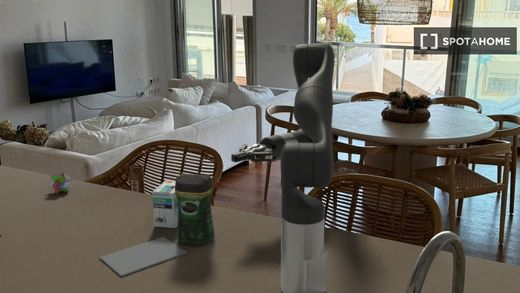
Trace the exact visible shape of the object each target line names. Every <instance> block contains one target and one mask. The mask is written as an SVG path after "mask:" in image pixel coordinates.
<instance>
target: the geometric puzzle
mask: <svg viewBox="0 0 520 293" xmlns="http://www.w3.org/2000/svg"><path fill="white" fill-rule="evenodd" d="M59 174H60V175H56V174H54V175H52V174H51V175H50V179H51V182H50V183H49V184H48V186H47V188H49V189H51V190H52V189H53V190H54V194H55V196H56V195H58V194H59V193H60V194H62V193H61V192H66V193H67V192H69V190H68V186H69V184H71V182H72V179H71V177H70V176H69V174H66V173H64V172H61V173H59ZM60 194H59V195H60Z"/></svg>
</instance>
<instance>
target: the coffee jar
mask: <svg viewBox="0 0 520 293" xmlns="http://www.w3.org/2000/svg"><path fill="white" fill-rule="evenodd" d="M175 181H176V182H175V194H176V196H177V200H178V226H177V233H176V234H177V236H176V237H177V242H179V244H182V245H188V246H198V247H199V246H206V245H208V244H210V243H211V242H213V240H214V239H215V227H214V221H213V214H212V205H211V196H212V193H213V182H212V178H211V175H209V174H194V173H183V172H182V173H180V174H179V175H178V176H177V177H176V178H175Z"/></svg>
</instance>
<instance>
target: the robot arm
mask: <svg viewBox="0 0 520 293" xmlns="http://www.w3.org/2000/svg"><path fill="white" fill-rule="evenodd" d="M335 60H336V59H335V51H334V48H333V46H332V45H331V44H329V43H325V42H319V43H315V42H314V43H302V44H297V45H296V46H295V47H294V49H293V54H292V67H293V72H294V76H295V80H296V81H295V82H296V85H297V88H298V90H296V93H295V96H294V104H293V110H292V111H293V113H292V114H293V117H294V120H295V123H297V125H298V127H299V129H298V130H295V131H291V132H287V133H285V132H284V133H277V134H274V135H269V136H265V137H263V138H262V139H261V141H260V142H259V143H255V144H252V145H250V146H249V145H248V144H247V143H243V144H242V145H241V146H240V147H239V148H238V152H234V153H231V155H230V157H231V158H230V160H231V162H233V163H239V162H243V161H247V162H249V161H250V162H251V163H252V162H253V163H255V162H256V163H257V162H259V163H260V162H261V163H263V162H267V163H274V162H277V161H279V162H280V167H279V168H280V179H281V180H280V183H281V213H280V214H281V215H280V216H281V225H280V226H281V227H280V228H281V229H280V231H281V232H280V290H281V292H282V293H325V292H327V267H328V266H327V265H328V264H327V263H328V252H327V251H325V250H324V247H325V246H324V245H325V218H326V217H325V215H326V209H325V205H324V203H323V202H322V201H321V200H320V199H318V198H316V197H313V196H311V195H309V194H306V193H305V192H303V191H302V190H300V188H311V189H312V188H316V189H317V188H318V189H320V188H326V187H328V186H329V185H330V183H331V182H332V179H333V174H334V154H333V153H334V148H333V144H334V141H335V140H334V137H335V136H334V133H333V129H332V128H333V125H332V124H333V115H334V113H333V111H334V99H333V98H334V97H333V96H334V95H333V81H334V80H333V78H334V74H335V73H334V71H335Z"/></svg>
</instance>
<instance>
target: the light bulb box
mask: <svg viewBox="0 0 520 293" xmlns="http://www.w3.org/2000/svg"><path fill="white" fill-rule="evenodd" d="M175 182H176V180H169V179H166V180H164V182H162V183H161V184H160V185H159V186H158V187H156V188H155V189H154V190H153V191H152V193H151V194H152V204H153V205H152V206H153V208H152V209H153V219H154V220H153V221H154V222H153V223H154V224H153V225H154V227H158V228H160V227H161V228H169V229H177V228H178V200H177V196H176V194H175Z"/></svg>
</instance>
